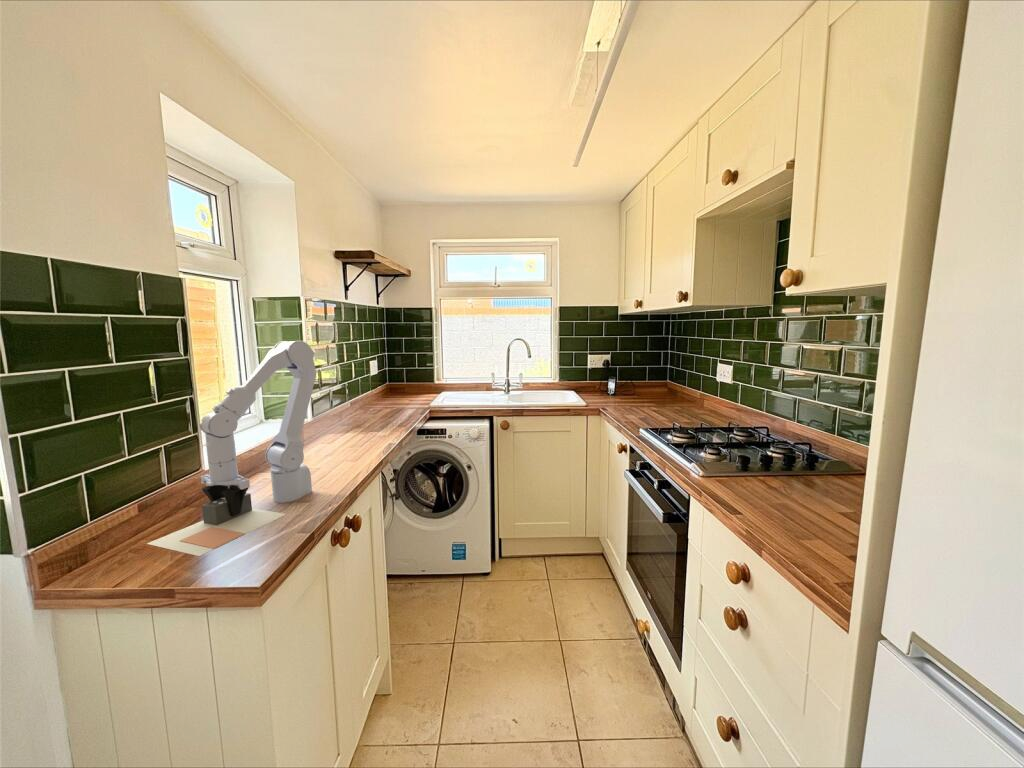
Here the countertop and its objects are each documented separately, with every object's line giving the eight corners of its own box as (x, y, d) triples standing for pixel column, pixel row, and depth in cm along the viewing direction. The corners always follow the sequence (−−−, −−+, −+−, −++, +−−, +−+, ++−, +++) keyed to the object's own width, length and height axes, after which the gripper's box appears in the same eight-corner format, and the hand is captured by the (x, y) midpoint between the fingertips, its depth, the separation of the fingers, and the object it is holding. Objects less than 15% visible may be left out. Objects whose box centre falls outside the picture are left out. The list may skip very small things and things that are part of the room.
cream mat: (238, 508, 111) (238, 505, 111) (286, 516, 105) (286, 513, 105) (146, 546, 91) (146, 542, 91) (199, 558, 85) (199, 555, 85)
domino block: (239, 508, 109) (237, 491, 109) (252, 510, 108) (250, 493, 107) (203, 523, 101) (201, 504, 100) (217, 525, 99) (214, 507, 99)
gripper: (185, 462, 101) (191, 516, 103) (227, 467, 96) (233, 524, 98) (214, 454, 108) (220, 505, 110) (255, 459, 103) (260, 511, 104)
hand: (228, 513), depth 104 cm, fingers closed on domino block, 5 cm apart
